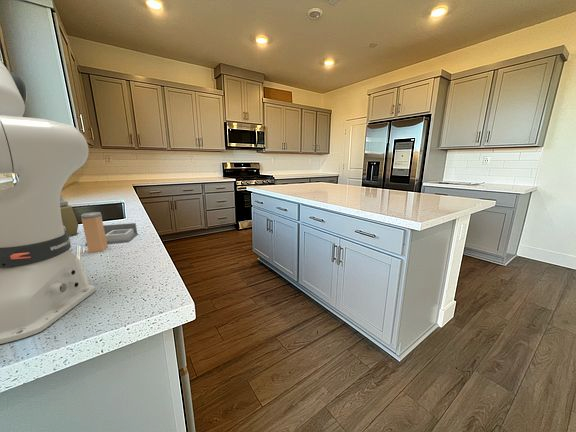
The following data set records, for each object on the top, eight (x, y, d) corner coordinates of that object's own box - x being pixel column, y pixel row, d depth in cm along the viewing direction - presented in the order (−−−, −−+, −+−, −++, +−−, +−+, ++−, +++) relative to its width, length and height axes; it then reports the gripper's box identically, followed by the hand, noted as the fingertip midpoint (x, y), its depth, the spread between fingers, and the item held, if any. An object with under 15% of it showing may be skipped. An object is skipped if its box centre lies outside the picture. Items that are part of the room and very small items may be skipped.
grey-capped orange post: (103, 251, 82) (96, 214, 79) (85, 253, 80) (77, 216, 77) (110, 246, 87) (103, 211, 84) (93, 248, 85) (86, 212, 82)
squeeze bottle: (68, 238, 97) (57, 194, 93) (48, 238, 97) (37, 194, 93) (85, 232, 105) (76, 191, 100) (67, 232, 105) (57, 191, 101)
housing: (128, 242, 91) (126, 229, 90) (85, 246, 88) (82, 232, 86) (137, 234, 101) (135, 223, 99) (98, 237, 97) (96, 225, 96)
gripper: (-34, 237, 65) (29, 232, 69) (24, 219, 84) (71, 216, 88) (-27, 258, 66) (35, 253, 70) (28, 236, 86) (74, 233, 89)
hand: (55, 232), depth 79 cm, fingers open, 8 cm apart
